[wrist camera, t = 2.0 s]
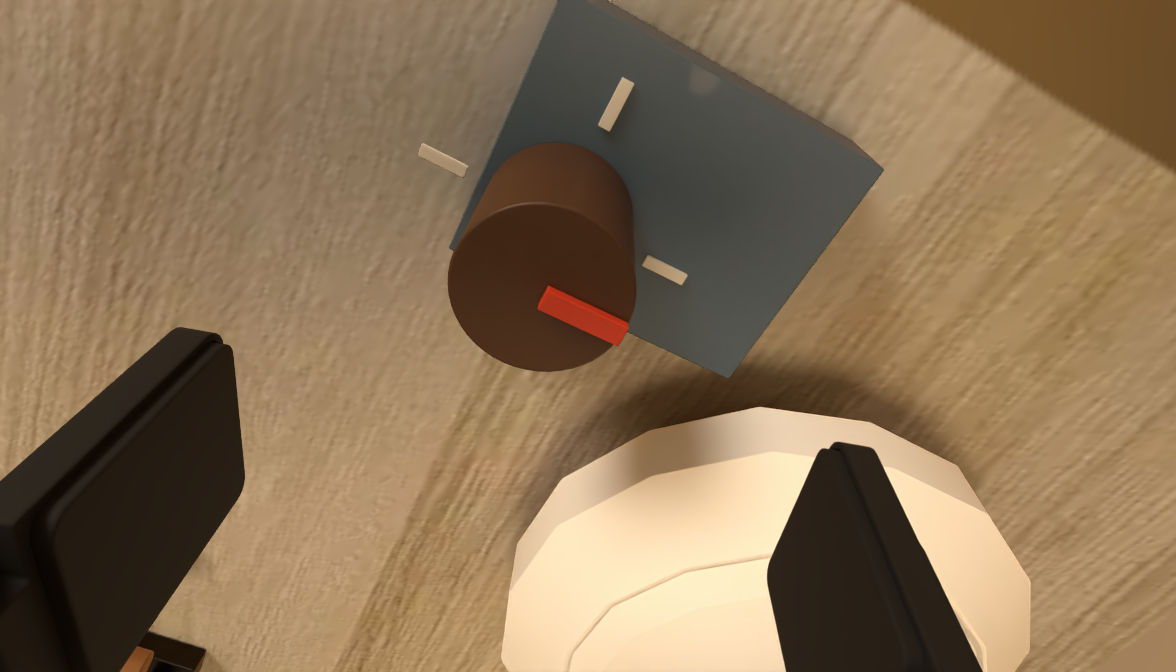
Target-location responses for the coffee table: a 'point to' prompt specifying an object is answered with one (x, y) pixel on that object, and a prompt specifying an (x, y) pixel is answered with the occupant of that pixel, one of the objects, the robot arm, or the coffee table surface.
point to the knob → (547, 260)
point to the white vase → (729, 549)
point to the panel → (686, 174)
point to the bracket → (171, 654)
